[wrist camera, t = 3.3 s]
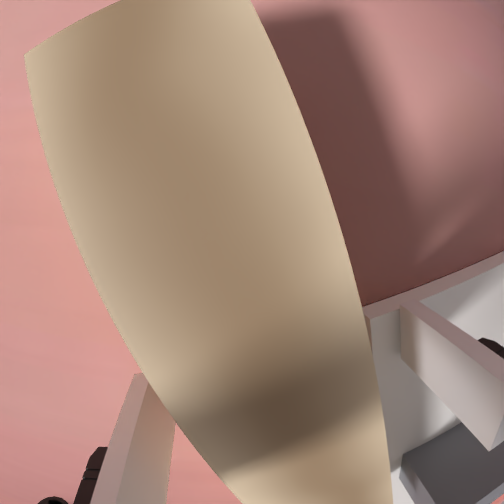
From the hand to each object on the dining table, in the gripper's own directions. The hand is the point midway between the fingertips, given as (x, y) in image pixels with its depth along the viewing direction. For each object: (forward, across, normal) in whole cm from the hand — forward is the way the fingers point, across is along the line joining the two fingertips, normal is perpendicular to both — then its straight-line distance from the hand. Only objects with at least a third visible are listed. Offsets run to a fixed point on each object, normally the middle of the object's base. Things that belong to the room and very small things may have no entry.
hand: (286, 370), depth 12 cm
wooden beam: (+2, 0, 0) cm, 2 cm away
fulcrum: (+1, +10, -11) cm, 15 cm away
